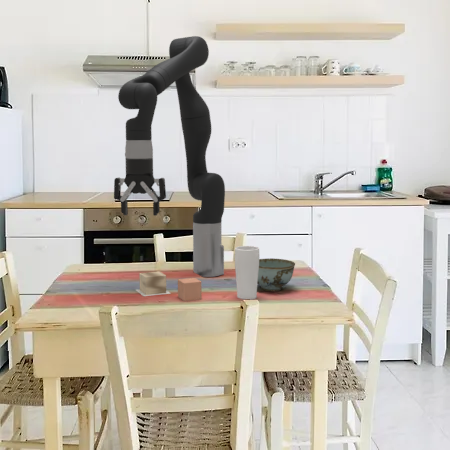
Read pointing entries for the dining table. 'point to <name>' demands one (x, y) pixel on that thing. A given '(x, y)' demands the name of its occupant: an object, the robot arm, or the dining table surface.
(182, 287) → the rust block
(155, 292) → the beech block
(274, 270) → the bowl
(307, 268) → the dining table surface
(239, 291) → the drinking glass
